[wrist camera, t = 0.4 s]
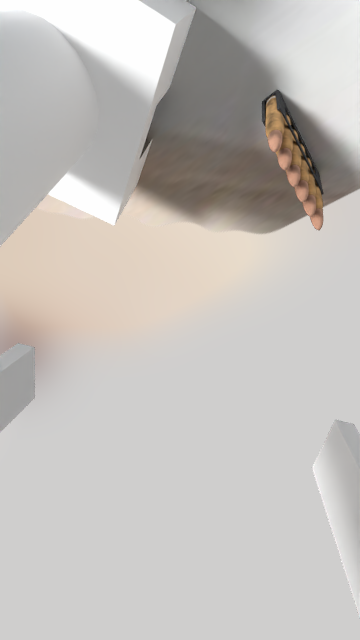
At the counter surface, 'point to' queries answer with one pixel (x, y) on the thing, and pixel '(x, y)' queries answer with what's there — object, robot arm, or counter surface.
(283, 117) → the ammunition clip
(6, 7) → the paper towel holder
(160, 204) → the counter surface
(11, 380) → the robot arm
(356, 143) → the counter surface
